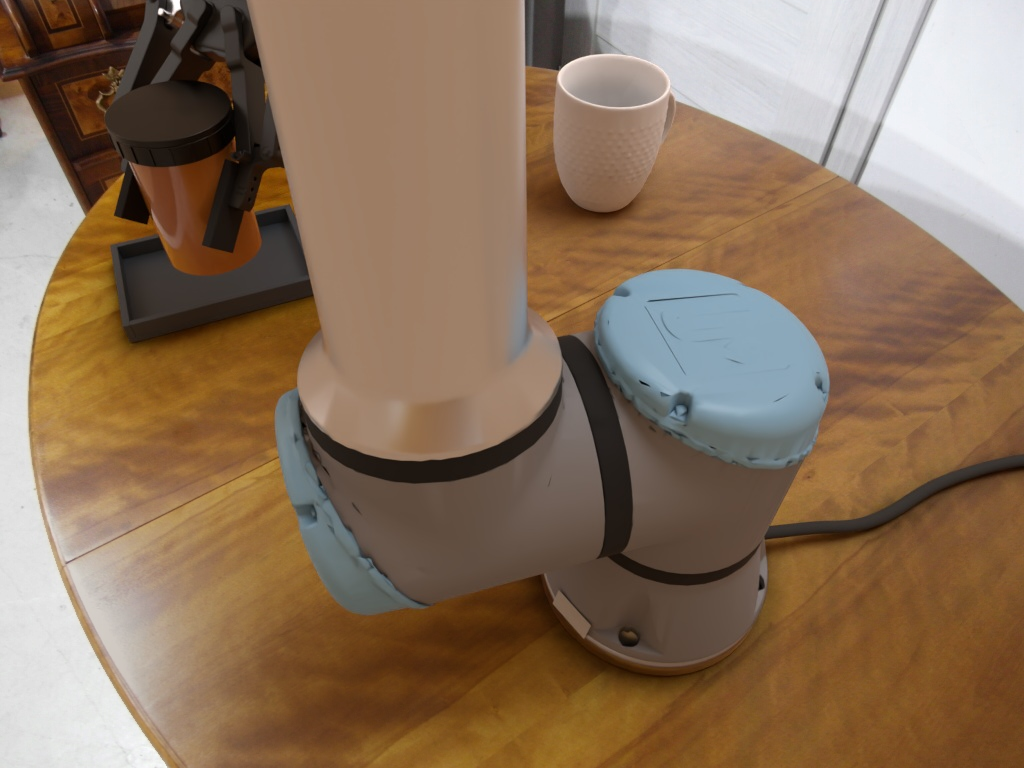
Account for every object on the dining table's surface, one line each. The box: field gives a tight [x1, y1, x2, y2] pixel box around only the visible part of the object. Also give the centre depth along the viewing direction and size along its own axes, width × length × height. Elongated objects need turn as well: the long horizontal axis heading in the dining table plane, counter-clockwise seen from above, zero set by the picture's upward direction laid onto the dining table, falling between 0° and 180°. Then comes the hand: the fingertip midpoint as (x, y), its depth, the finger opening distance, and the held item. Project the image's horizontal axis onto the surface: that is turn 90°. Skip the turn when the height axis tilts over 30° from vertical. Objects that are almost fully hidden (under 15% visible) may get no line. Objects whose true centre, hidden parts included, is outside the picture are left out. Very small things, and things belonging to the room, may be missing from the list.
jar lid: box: [103, 80, 236, 167], centre depth 56 cm, size 9×9×2 cm
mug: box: [552, 53, 677, 213], centre depth 80 cm, size 15×11×13 cm
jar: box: [128, 138, 262, 276], centre depth 60 cm, size 8×8×12 cm
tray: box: [109, 203, 314, 344], centre depth 73 cm, size 17×12×2 cm
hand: (173, 234), depth 59 cm, fingers closed on jar, 8 cm apart
